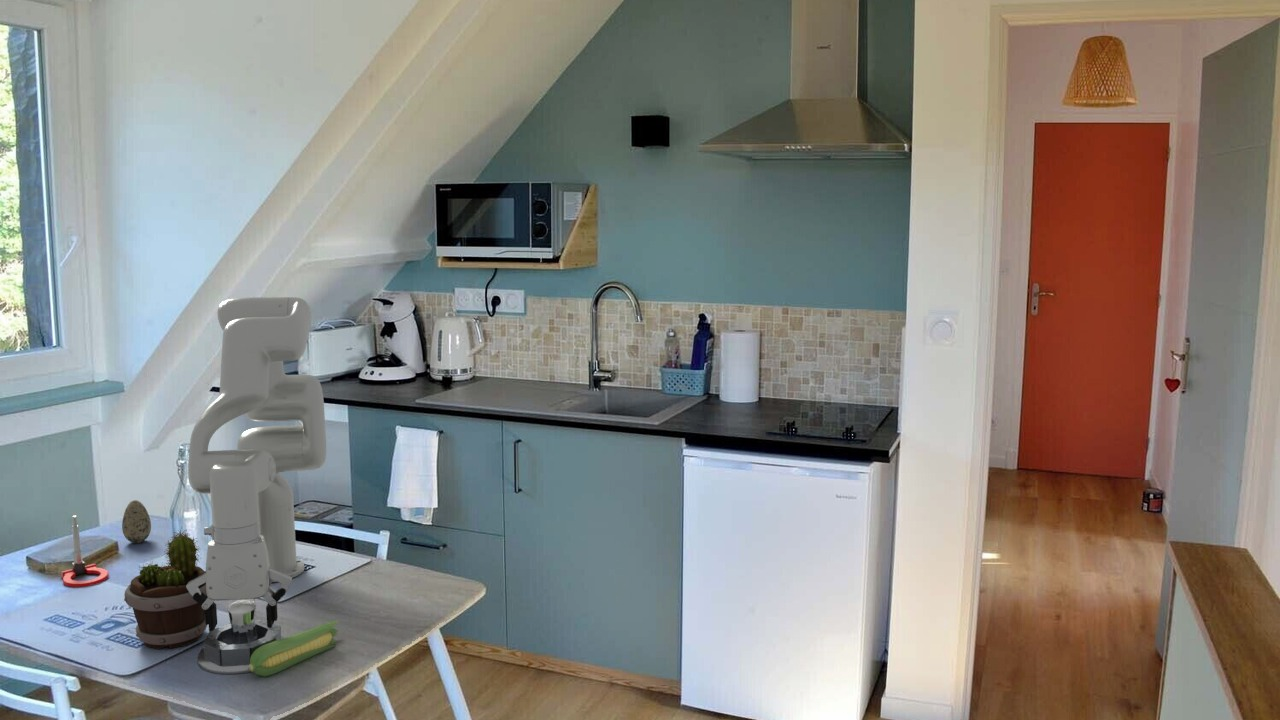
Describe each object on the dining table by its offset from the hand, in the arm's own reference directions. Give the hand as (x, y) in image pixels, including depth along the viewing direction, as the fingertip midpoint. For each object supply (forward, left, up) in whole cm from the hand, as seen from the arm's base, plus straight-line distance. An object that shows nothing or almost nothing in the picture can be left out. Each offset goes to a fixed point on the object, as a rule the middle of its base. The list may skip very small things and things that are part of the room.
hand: (242, 626), depth 184 cm
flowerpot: (-9, -14, -6) cm, 18 cm away
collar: (0, 0, -5) cm, 5 cm away
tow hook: (-42, -40, -6) cm, 58 cm away
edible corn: (+3, +10, -6) cm, 12 cm away
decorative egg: (-64, -36, -6) cm, 74 cm away
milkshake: (0, +1, -5) cm, 5 cm away
